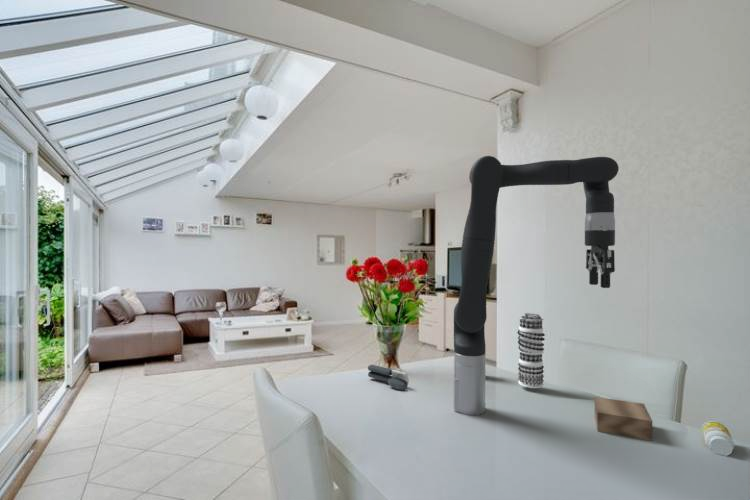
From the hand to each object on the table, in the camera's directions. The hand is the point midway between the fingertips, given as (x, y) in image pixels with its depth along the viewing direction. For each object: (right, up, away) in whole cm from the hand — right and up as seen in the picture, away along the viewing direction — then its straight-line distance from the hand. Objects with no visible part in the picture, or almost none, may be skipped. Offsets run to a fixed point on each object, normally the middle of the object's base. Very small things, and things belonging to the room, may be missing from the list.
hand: (599, 286), depth 113 cm
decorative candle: (-8, -38, +29) cm, 49 cm away
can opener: (-60, -38, +32) cm, 78 cm away
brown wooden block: (+3, -39, -6) cm, 39 cm away
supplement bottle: (+22, -36, -13) cm, 44 cm away
